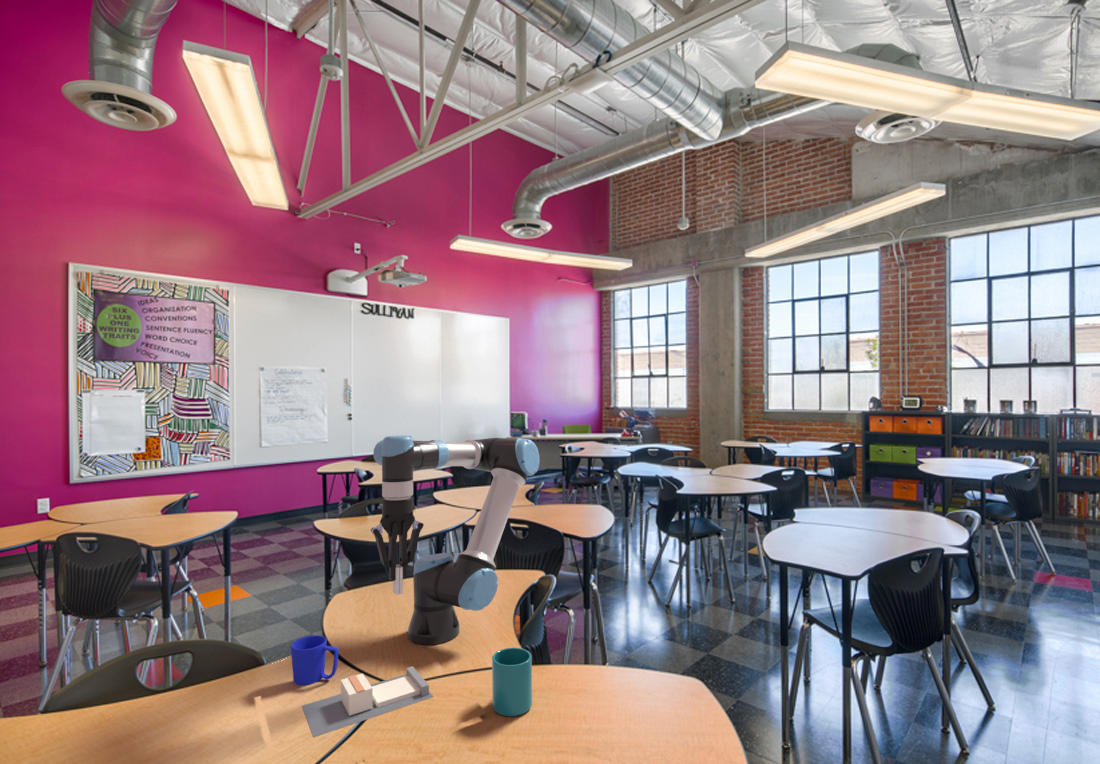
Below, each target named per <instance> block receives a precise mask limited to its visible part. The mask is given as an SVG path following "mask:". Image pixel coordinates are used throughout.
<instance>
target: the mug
mask: <svg viewBox="0 0 1100 764" xmlns="http://www.w3.org/2000/svg"><path fill="white" fill-rule="evenodd" d="M327 641H328V640H327V638H326V637H325V636H324V635H308V636H304V637H300V638H298V639H296V640H295V641H293V642H292V643H291V645H290V652H291V653H290V655H291V665H292V677H293V678H292V679H293V683H294V684H295V685H296V686H310V685H314V684H316V683H318V682H320V681H321V680H323V679H324V680H329V679H331V678H333V677H334V676H335V674H336V671H337V668H338V663H339V650H340V649H339V647H338V646H331V645H327V644H328V643H327ZM327 651H329V652H333V664H332V665H333V666H332V670H331V673H330V674H326V673H325V669H326V668H325V667H326V655H327Z"/></svg>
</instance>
